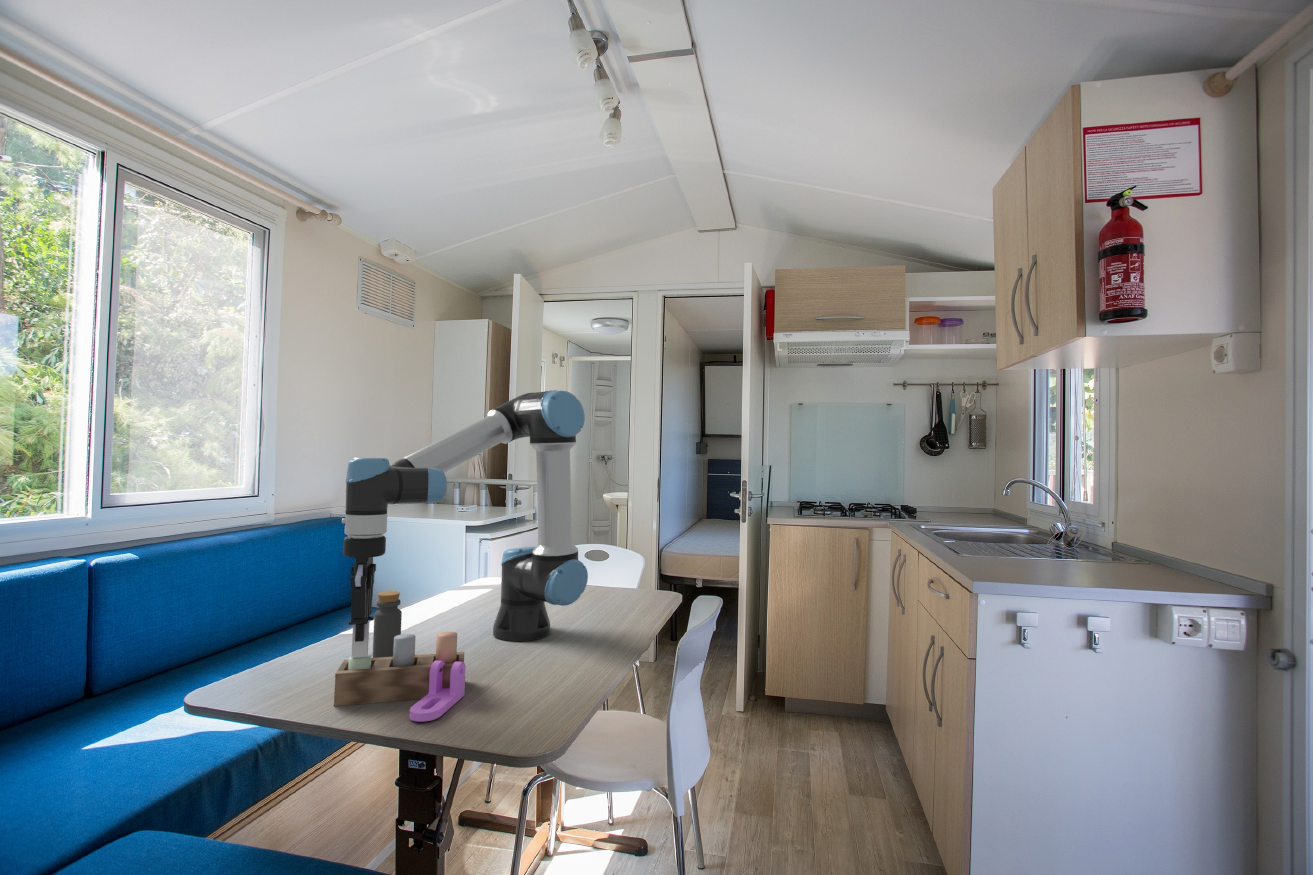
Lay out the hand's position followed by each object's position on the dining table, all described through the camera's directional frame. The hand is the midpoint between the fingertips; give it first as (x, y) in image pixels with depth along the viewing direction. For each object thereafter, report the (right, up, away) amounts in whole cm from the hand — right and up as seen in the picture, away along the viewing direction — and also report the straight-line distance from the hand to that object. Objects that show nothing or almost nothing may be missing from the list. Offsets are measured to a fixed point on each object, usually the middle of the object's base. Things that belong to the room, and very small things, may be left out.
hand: (359, 656), depth 117 cm
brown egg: (+15, -4, +5) cm, 16 cm away
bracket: (+17, -8, -5) cm, 19 cm away
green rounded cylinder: (0, -7, 0) cm, 7 cm away
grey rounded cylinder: (+8, -4, +2) cm, 9 cm away
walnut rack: (+7, -8, +2) cm, 11 cm away
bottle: (-5, -9, +22) cm, 24 cm away
